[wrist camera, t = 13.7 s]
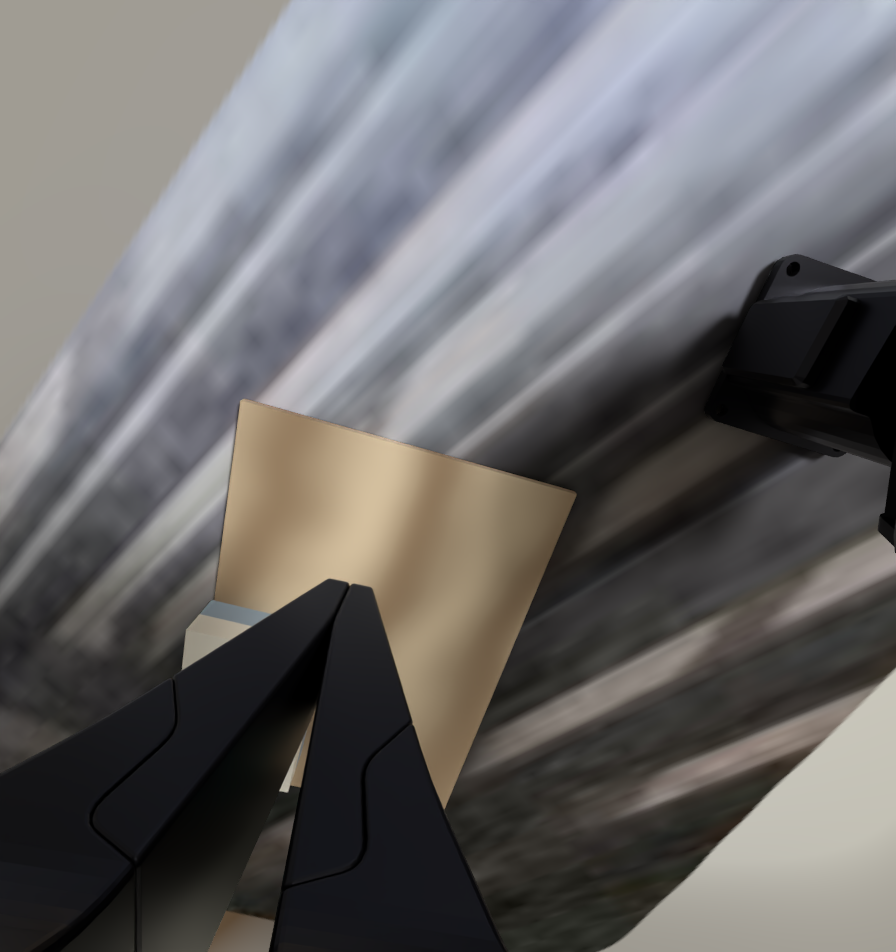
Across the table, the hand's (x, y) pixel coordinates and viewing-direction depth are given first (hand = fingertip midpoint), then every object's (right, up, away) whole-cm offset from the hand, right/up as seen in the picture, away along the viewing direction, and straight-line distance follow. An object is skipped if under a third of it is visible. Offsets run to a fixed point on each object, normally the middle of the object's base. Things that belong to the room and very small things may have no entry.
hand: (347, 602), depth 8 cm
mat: (-3, -6, +15) cm, 16 cm away
